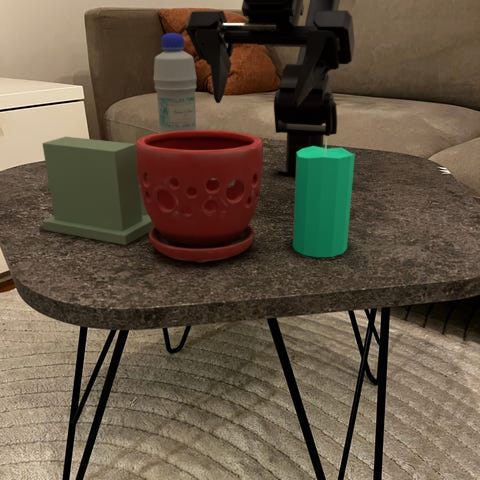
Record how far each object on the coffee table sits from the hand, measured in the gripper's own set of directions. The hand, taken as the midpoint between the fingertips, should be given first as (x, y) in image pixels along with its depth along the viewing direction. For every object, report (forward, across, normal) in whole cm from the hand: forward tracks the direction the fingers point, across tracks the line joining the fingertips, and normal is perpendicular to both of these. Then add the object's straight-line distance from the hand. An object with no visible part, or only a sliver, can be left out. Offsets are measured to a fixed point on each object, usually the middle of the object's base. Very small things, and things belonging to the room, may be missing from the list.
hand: (255, 102), depth 66 cm
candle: (+14, +9, +6) cm, 18 cm away
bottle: (-5, -20, +27) cm, 35 cm away
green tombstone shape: (+11, -16, +9) cm, 22 cm away
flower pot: (+17, -3, +3) cm, 17 cm away
